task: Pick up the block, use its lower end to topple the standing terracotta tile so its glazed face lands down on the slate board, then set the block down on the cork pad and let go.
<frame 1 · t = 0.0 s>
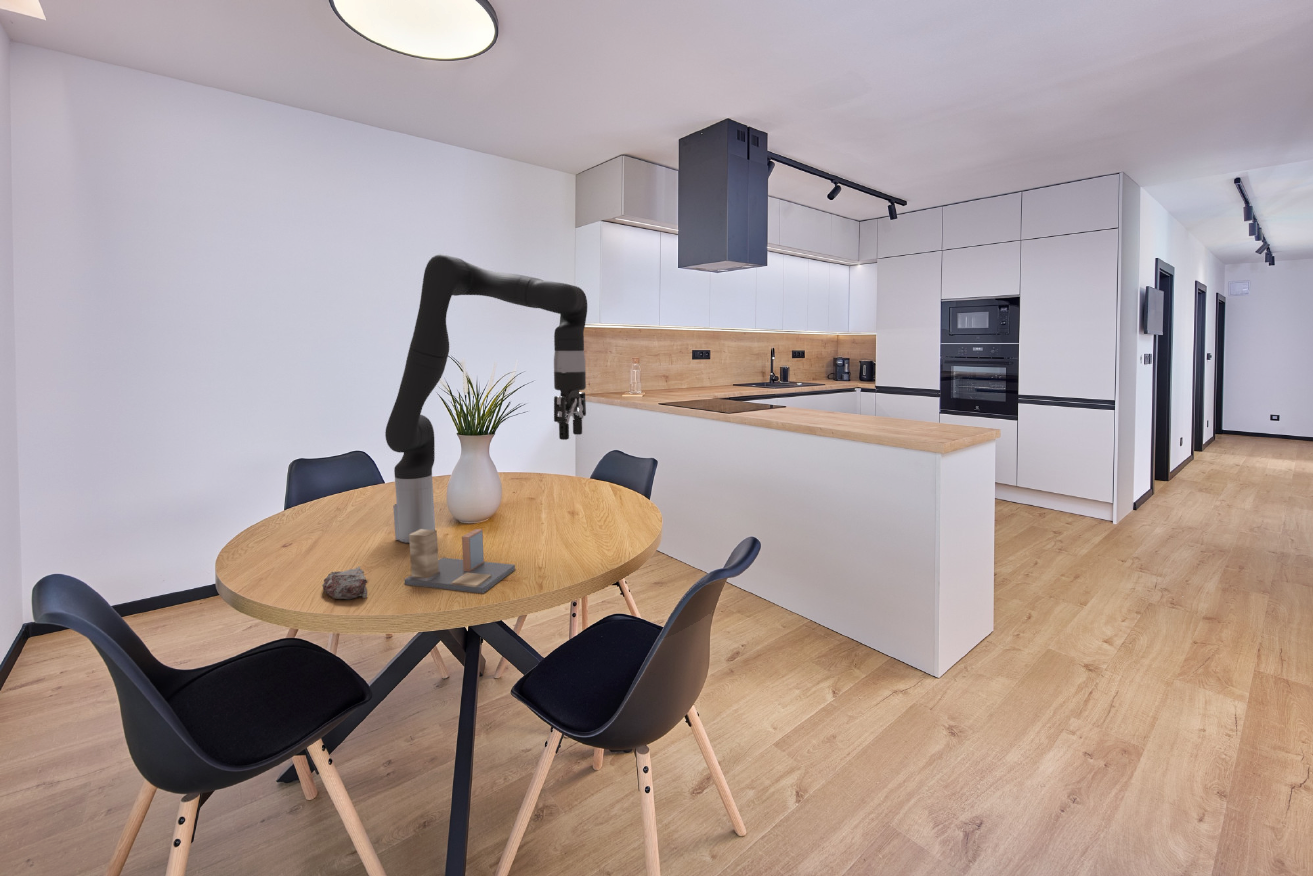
hand: (571, 436, 146), 29 cm above the table, fingers open, 8 cm apart
tile: (473, 566, 137), point 1 cm above the table, touching slate board
block: (425, 576, 131), point 1 cm above the table, touching slate board
mineral rock: (345, 593, 126), on the table
cork pad: (471, 580, 129), resting on slate board
slate board: (461, 576, 134), on the table
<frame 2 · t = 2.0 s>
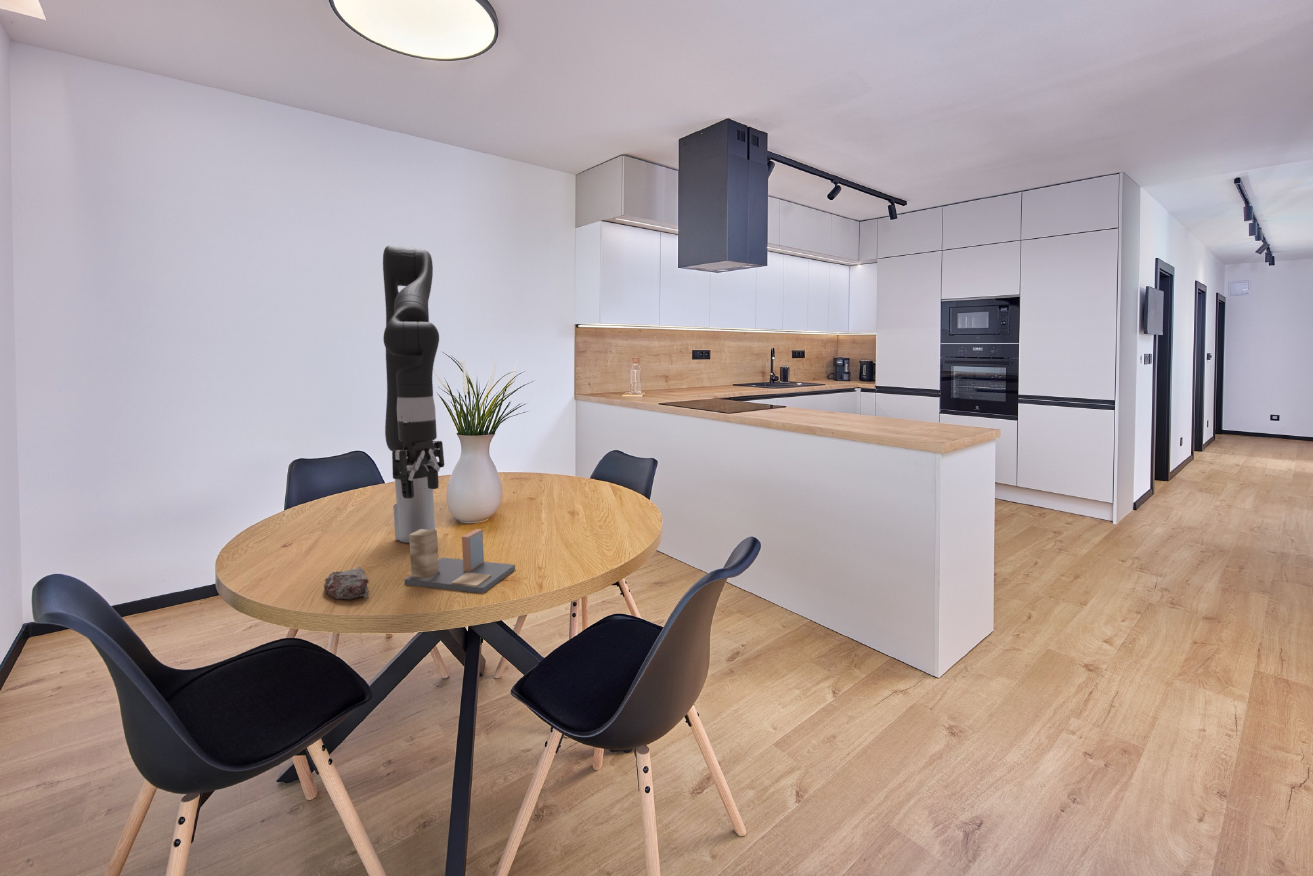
hand: (421, 493, 128), 20 cm above the table, fingers open, 8 cm apart
nothing on the table moved.
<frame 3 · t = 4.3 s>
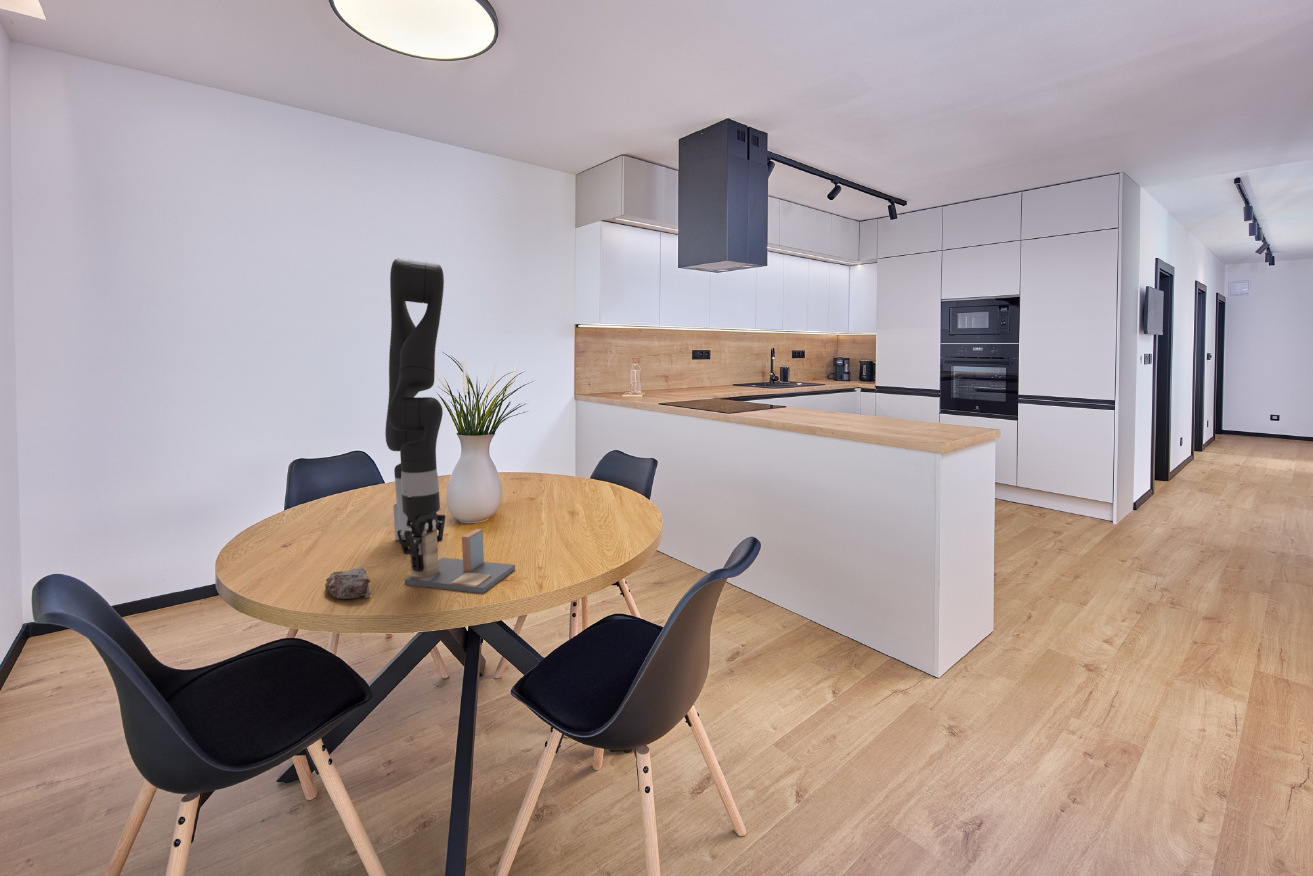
hand: (424, 566, 131), 3 cm above the table, fingers closed on block, 4 cm apart
block: (425, 576, 131), point 1 cm above the table, touching gripper, slate board
everything else where it was.
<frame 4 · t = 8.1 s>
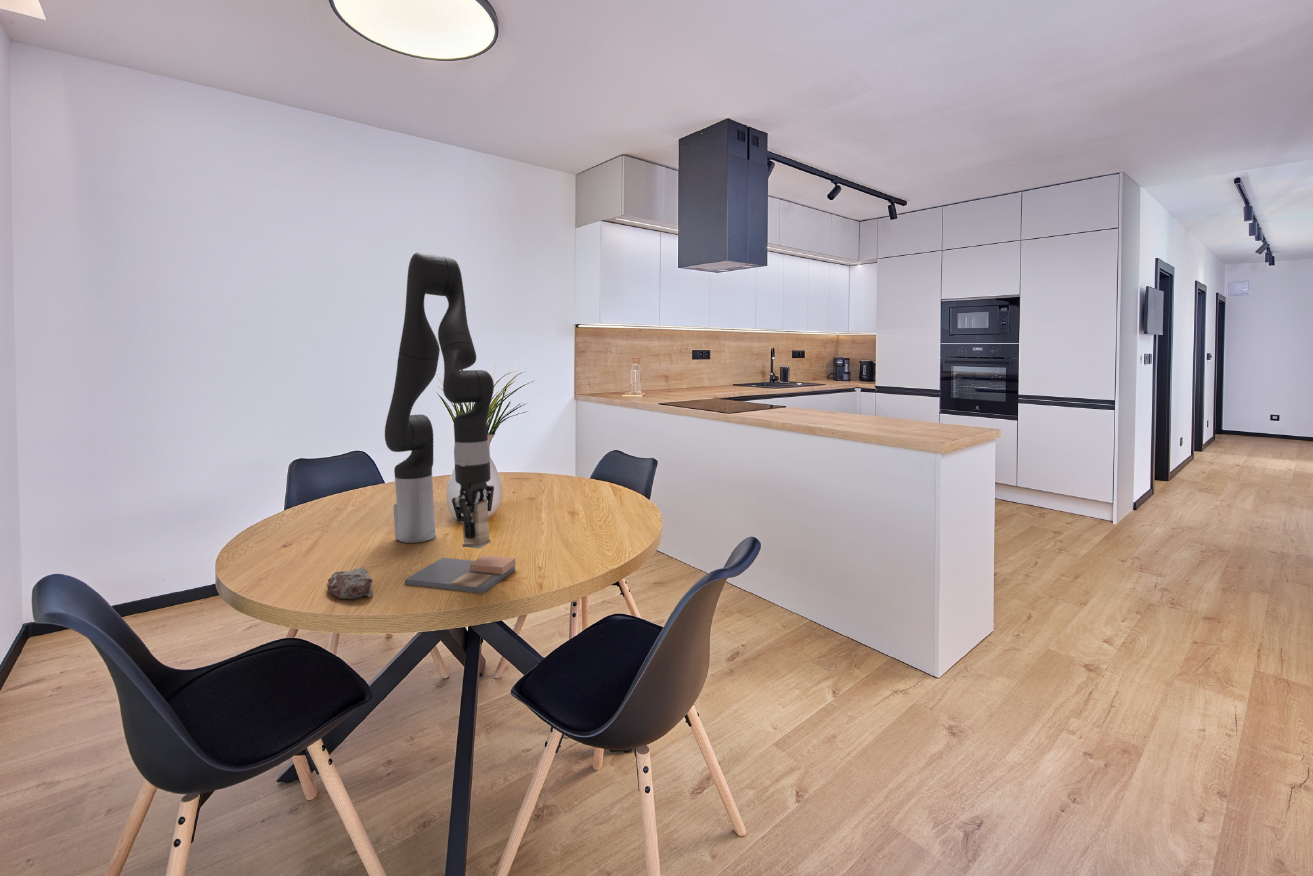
hand: (475, 534, 136), 9 cm above the table, fingers closed on block, 4 cm apart
tile: (477, 563, 137), point 2 cm above the table, tilted 90°, touching slate board
block: (476, 544, 136), point 7 cm above the table, touching gripper
everything else where it was.
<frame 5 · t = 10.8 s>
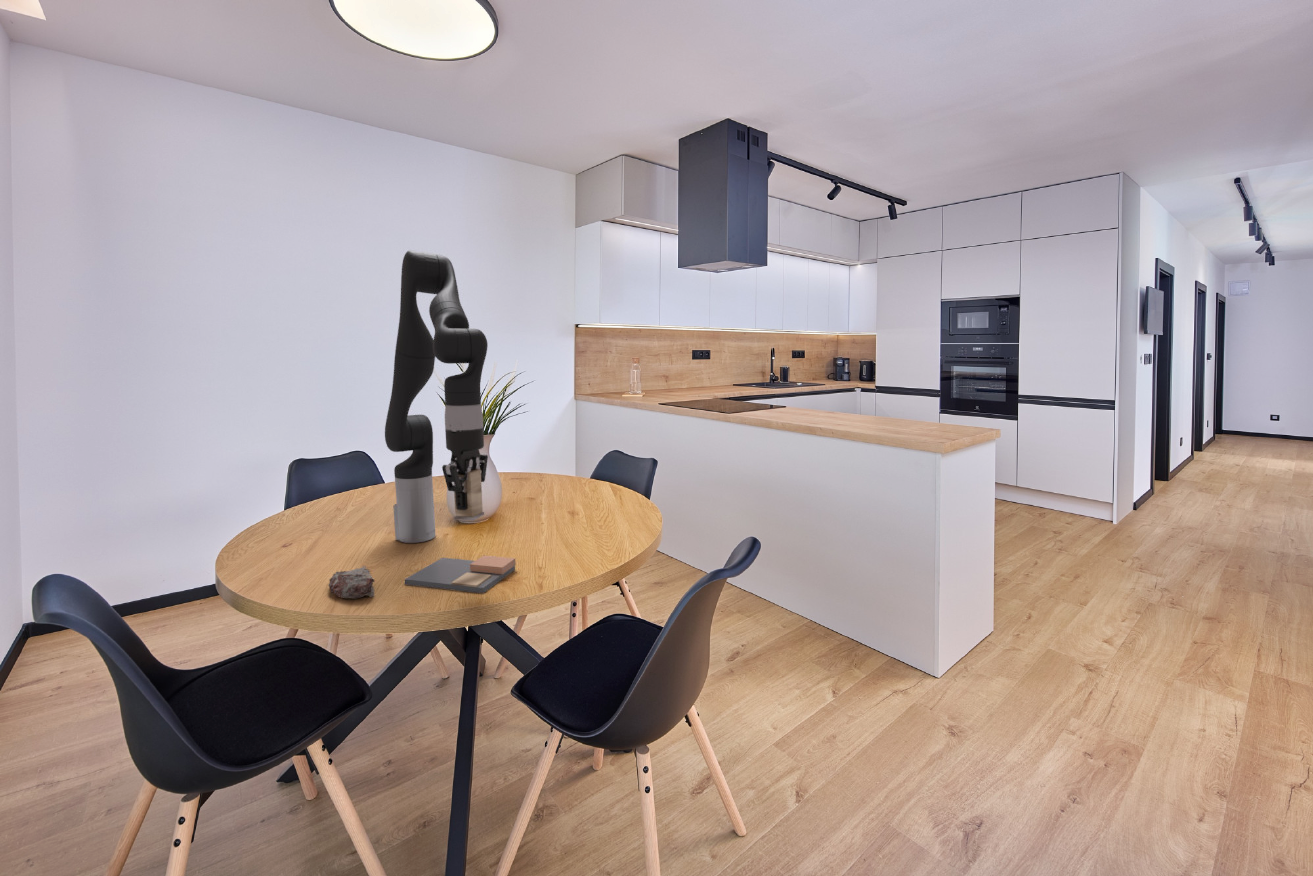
hand: (468, 506, 127), 18 cm above the table, fingers closed on block, 4 cm apart
block: (469, 516, 127), point 15 cm above the table, touching gripper
when the fingers open (5 cm above the table, at t = 12.9 s): block drops 1 cm, resting on cork pad.
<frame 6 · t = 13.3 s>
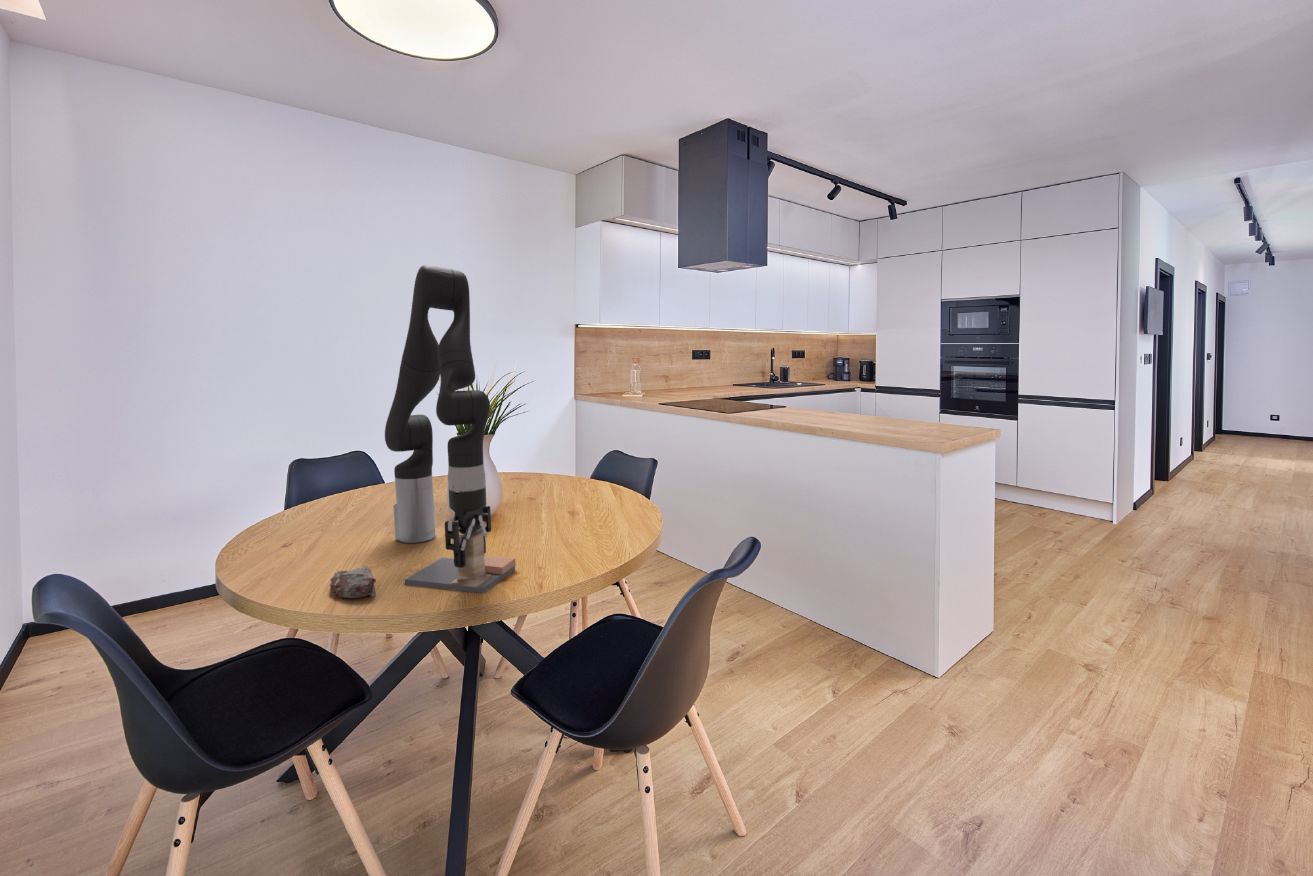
hand: (470, 560, 128), 6 cm above the table, fingers open, 7 cm apart
block: (472, 578, 129), point 2 cm above the table, touching cork pad
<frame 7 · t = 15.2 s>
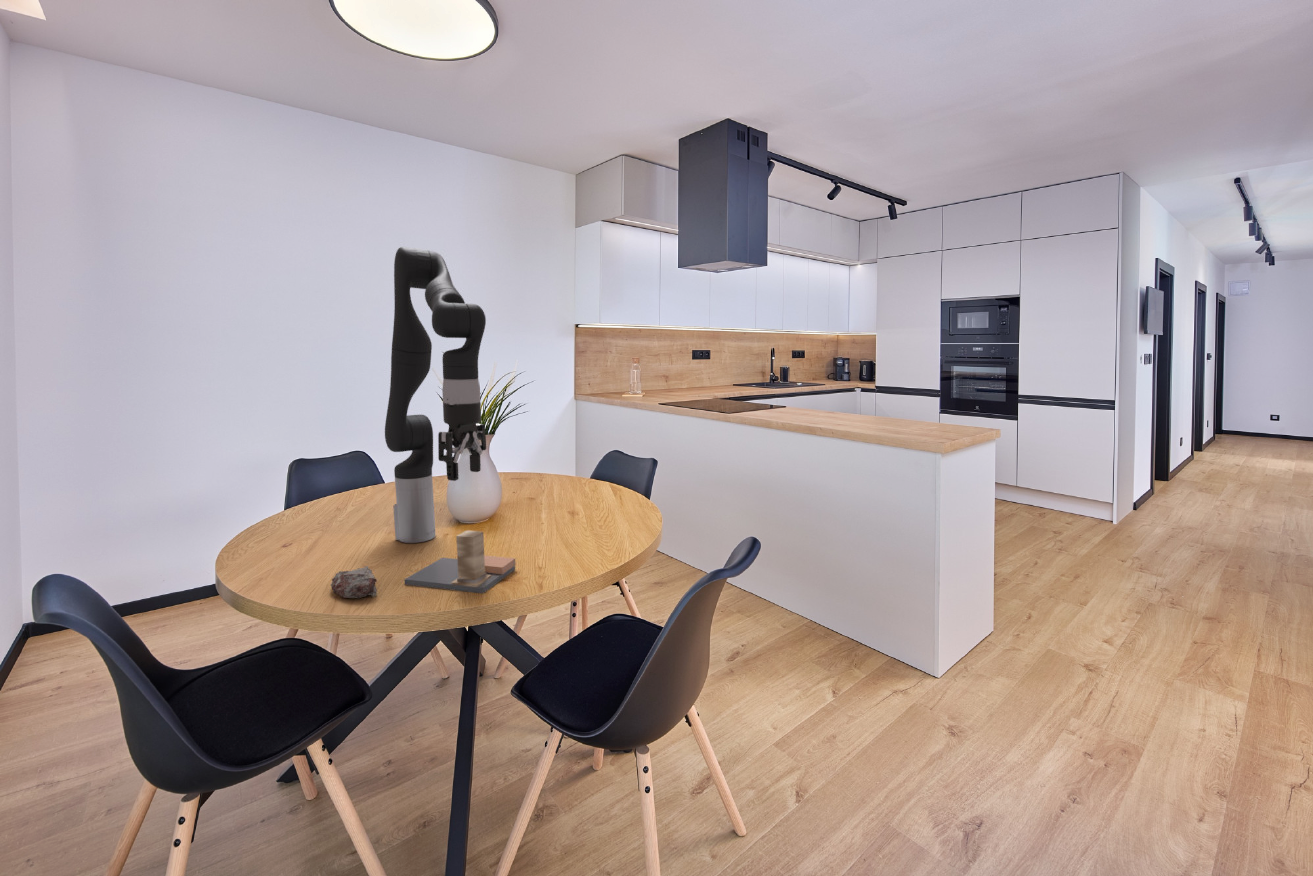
hand: (464, 475, 128), 24 cm above the table, fingers open, 8 cm apart
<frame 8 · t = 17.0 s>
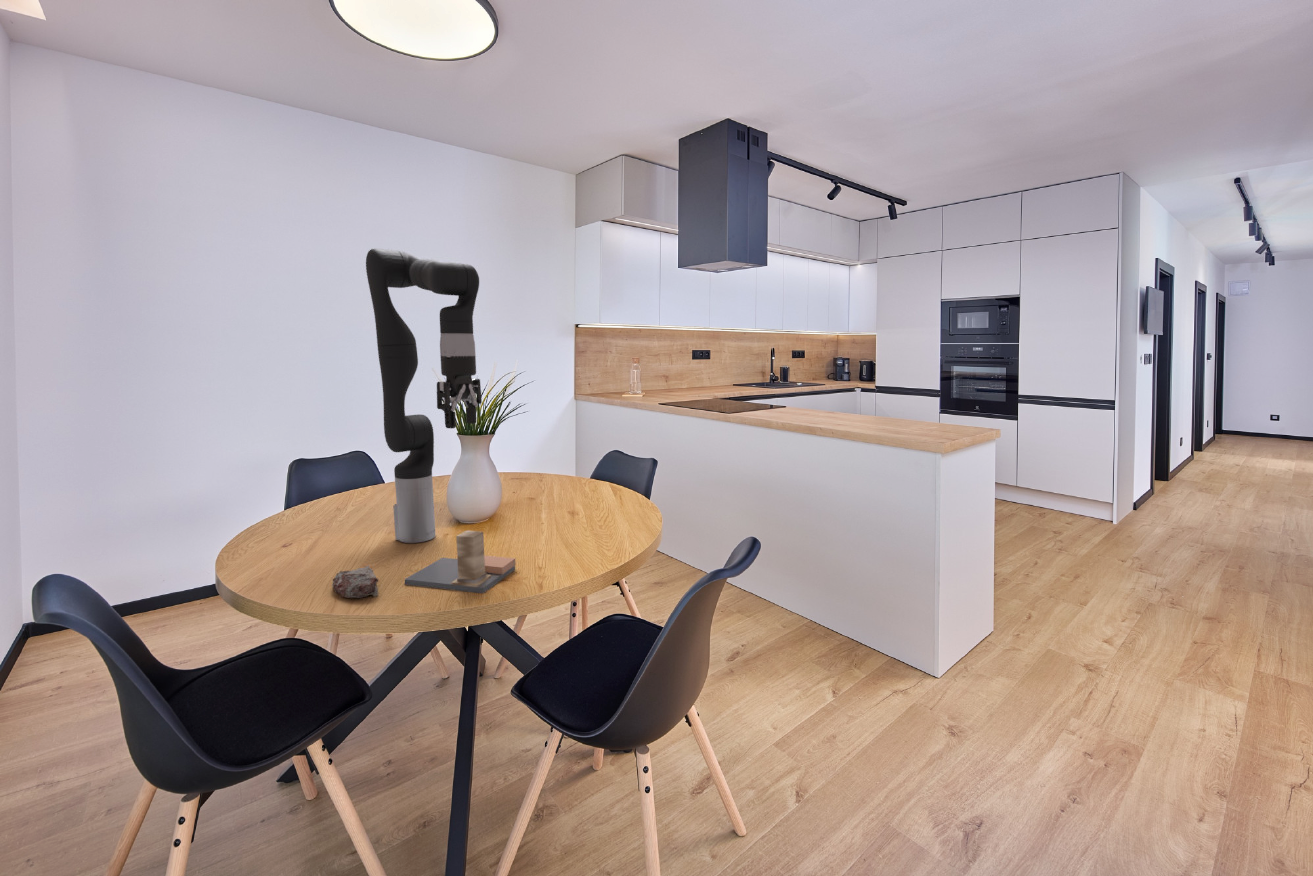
hand: (461, 425, 137), 33 cm above the table, fingers open, 8 cm apart
at the end: tile tilted 90°; the gripper is holding nothing; block inside the target area on the cork pad (0.1 cm from its centre), point 0.4 cm above the cork pad's base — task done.
